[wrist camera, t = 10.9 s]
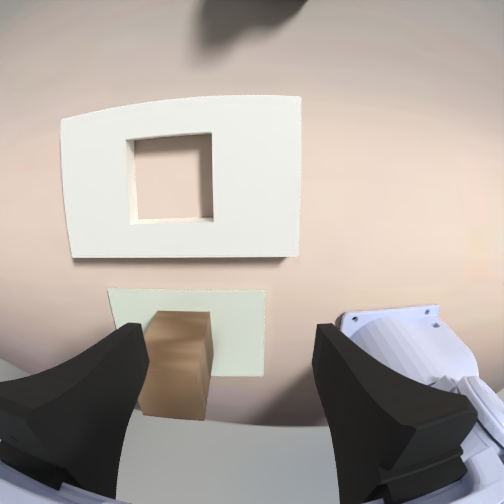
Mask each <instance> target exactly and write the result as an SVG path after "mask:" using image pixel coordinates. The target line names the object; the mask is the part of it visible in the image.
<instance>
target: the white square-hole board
mask: <svg viewBox="0 0 504 504" xmlns="http://www.w3.org/2000/svg"><path fill="white" fill-rule="evenodd" d="M201 134H212V176H213V213H214V217H211V218H170V219H141V220H138V209H137V196H136V179H135V154H134V140H141V139H150V138H160V137H171V136H185V135H201ZM61 166H62V182H63V194H64V204H65V213H66V221H67V228H68V235H69V241H70V247H71V253H72V258H177V257H298V251H299V228H300V198H301V97H300V96H280V95H224V96H204V97H190V98H179V99H169V100H160V101H152V102H145V103H138V104H132V105H126V106H120V107H114V108H109V109H104V110H99V111H94V112H90V113H85V114H81V115H77V116H73V117H69V118H65V119H62V120H61Z"/></svg>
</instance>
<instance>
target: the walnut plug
mask: <svg viewBox="0 0 504 504" xmlns="http://www.w3.org/2000/svg"><path fill="white" fill-rule="evenodd" d="M144 339H145V344H146V348H147V352H148V356H149V360H150V362H149V367H148V371H147V375H146V379H145V382H144V385H143V387H142V390H141V392H140V395H139V397H138V399H137V400H138V402H139V405H140V408H141V410H142V413H143V415H148V416H155V417H163V418H173V419H185V420H199V421H204V419H205V412H206V405H207V398H208V391H209V384H210V377H211V370H212V364H213V357H214V350H213V340H212V329H211V318H210V312H198V311H157V313H156V315H155V317H154V319H153V321H152V323H151V324H150V326H149V328H148V330H147V332H146V334H145V336H144Z"/></svg>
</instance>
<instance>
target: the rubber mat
mask: <svg viewBox="0 0 504 504" xmlns="http://www.w3.org/2000/svg"><path fill="white" fill-rule="evenodd" d="M108 295H109V299H110V304H111V308H112V313H113V317H114V321H115V325H116V329H118V328H120V327H121V326H123V325H124V324H126V323H128V322H130V323H141V325H142V330H143V335H144V336H145V334H146V332H147V330H148V328H149V326H150V324H151V323H152V321H153V319H154V317H155V315H156V313H157V311H198V312H210V318H211V329H212V340H213V350H214V357H213V364H212V370H211V376H263V370H264V329H265V290H179V289H135V288H109V289H108Z"/></svg>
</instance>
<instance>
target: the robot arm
mask: <svg viewBox="0 0 504 504" xmlns="http://www.w3.org/2000/svg"><path fill="white" fill-rule="evenodd" d="M426 310H427V311H426ZM425 311H426V312H425ZM439 311H440V308H439V306H438V305H437V304H434V305H425V306H416V307H406V308H395V309H384V310H371V311H357V312H347V313H345V314H344V315H343V316H342V320H341V326H340V330H339V329H338V328H337V327H335V326H334V325H333V324H332V323H329V324H317V329H316V337H315V344H314V351H313V358H312V367H313V373H314V378H315V383H316V387H317V390H318V393H319V396H320V399H321V402H322V405H323V408H324V412H325V415H326V418H327V421H328V424H329V428H330V432H331V437H332V443H333V448H334V454H335V461H336V468H337V477H338V486H339V497H340V504H504V403H503V402H502V401H501V400H500V398H499V397H498V396H497V395H496V394H495V393H494V392H493V391H492V390H491V388H490V387H489V386H488V385H487V384H486V383H484V382H483V381H482V380H481V379H480V378H479V372H478V367H477V363H476V360H475V357H474V355H473V354H472V352H471V351H470V349H469V348H468V347H467V346H466V345H465V344H464V343H463V342H462V341H461V340H460V339H459V338H458V337H457V336H456V334H455V333H454V332H453V331H452V330H451V329H450V328H449V327H448V326H447V325H446V324H445V323H444V322H443V321H442V320H441V319H440V318H439V317H438V314H439ZM353 317H356V319H354V320H352V318H353ZM149 362H150V360H149V356H148V352H147V348H146V344H145V339H144V335H143V330H142V325H141V323H130V322H128V323H126V324H124V325H123V326H121V327H120V328H118V329H117V330H115V331H114V332H112V333H111V334H109V335H108V336H107V337H105V338H104V339H102V340H101V341H99V342H98V343H96V344H95V345H93V346H92V347H90V348H89V349H87V350H85V351H84V352H82V353H81V354H79V355H77V356H76V357H74V358H72V359H70V360H68V361H66V362H64V363H62V364H60V365H58V366H56V367H53V368H51V369H48V370H46V371H43V372H40V373H38V374H35V375H31V376H28V377H24V378H20V379H16V380H10V381H4V382H0V439H1V442H0V504H130V503H126V502H122V501H118V500H116V485H117V476H118V468H119V461H120V456H121V451H122V446H123V441H124V437H125V433H126V429H127V425H128V422H129V419H130V417H131V414H132V412H133V409H134V407H135V404H136V402H137V399H138V397H139V395H140V392H141V390H142V387H143V385H144V382H145V379H146V375H147V371H148V367H149Z"/></svg>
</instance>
